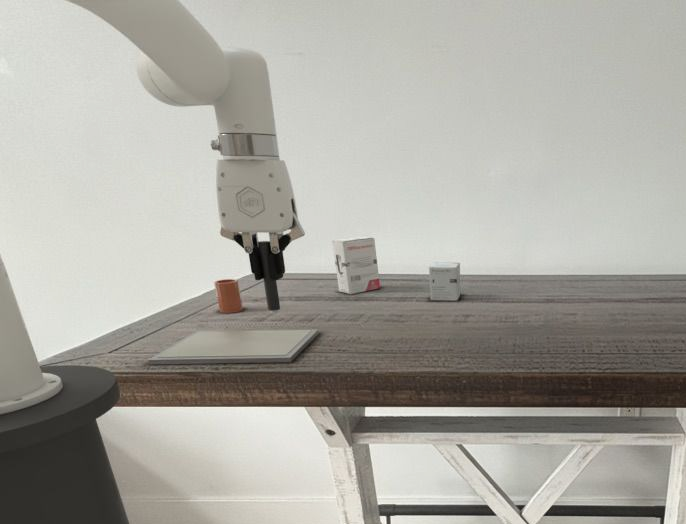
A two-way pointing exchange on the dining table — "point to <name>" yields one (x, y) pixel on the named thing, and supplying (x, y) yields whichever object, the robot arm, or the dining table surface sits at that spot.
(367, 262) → the ink box
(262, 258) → the stylus
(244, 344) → the tablet
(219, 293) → the pen cup
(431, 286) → the product carton
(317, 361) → the dining table surface
